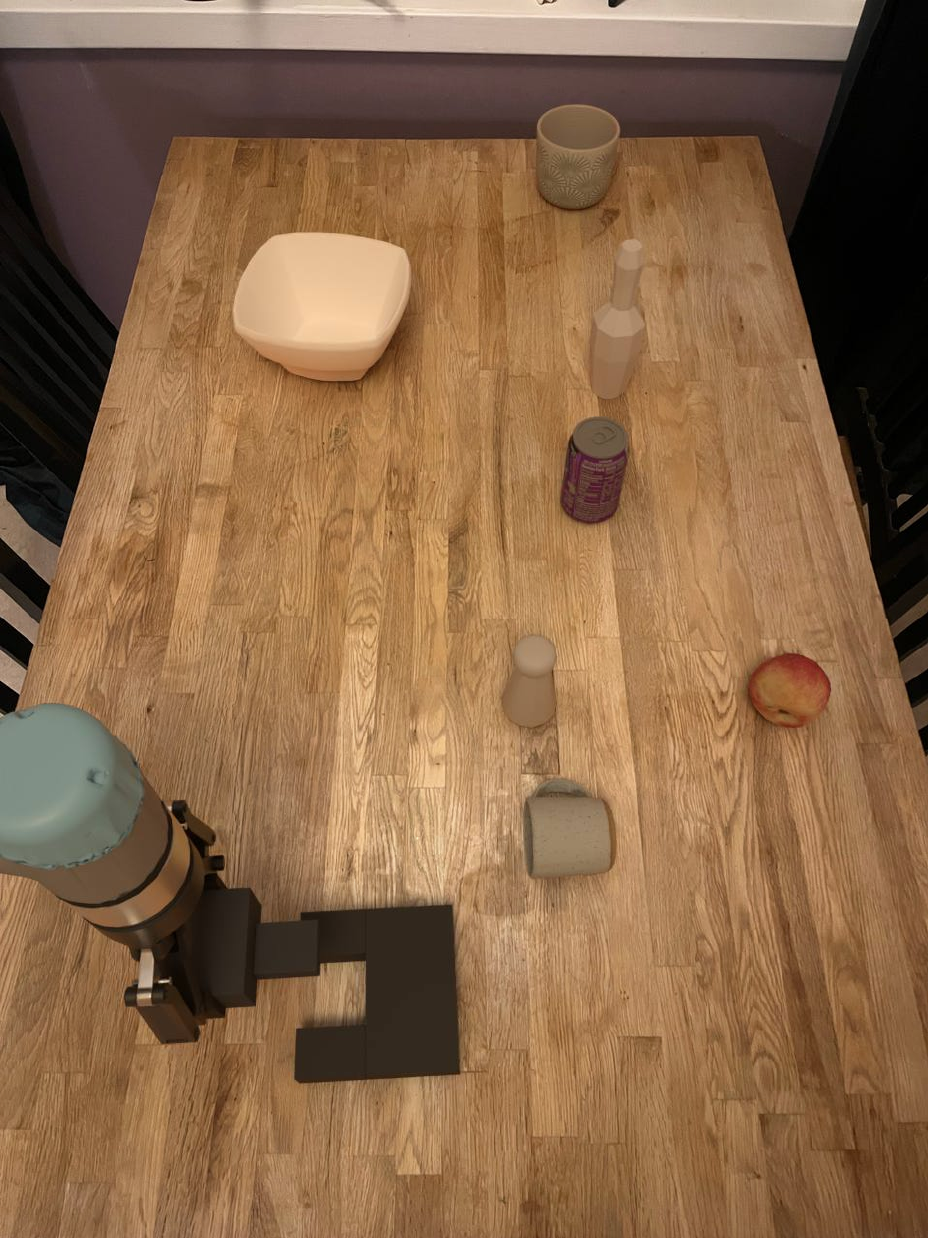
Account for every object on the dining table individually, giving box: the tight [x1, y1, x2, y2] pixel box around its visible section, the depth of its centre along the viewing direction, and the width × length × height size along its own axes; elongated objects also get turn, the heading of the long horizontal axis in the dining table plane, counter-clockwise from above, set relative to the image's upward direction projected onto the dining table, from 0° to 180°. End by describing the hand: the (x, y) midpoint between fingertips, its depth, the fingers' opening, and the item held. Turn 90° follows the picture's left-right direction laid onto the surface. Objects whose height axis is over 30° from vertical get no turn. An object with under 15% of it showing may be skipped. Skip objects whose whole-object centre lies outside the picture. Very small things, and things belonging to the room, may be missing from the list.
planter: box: [535, 103, 621, 210], centre depth 147 cm, size 12×12×11 cm
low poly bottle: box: [588, 238, 646, 400], centre depth 119 cm, size 6×6×22 cm
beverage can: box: [559, 416, 630, 524], centre depth 113 cm, size 7×7×12 cm
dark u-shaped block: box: [293, 903, 461, 1085], centre depth 86 cm, size 14×14×3 cm
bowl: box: [231, 232, 413, 382], centre depth 127 cm, size 22×22×12 cm
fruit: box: [748, 652, 832, 729], centre depth 99 cm, size 8×8×8 cm
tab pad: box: [188, 886, 321, 1009], centre depth 76 cm, size 12×8×5 cm, turn 93°
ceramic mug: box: [522, 778, 617, 880], centre depth 92 cm, size 11×8×8 cm
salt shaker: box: [500, 633, 558, 729], centre depth 97 cm, size 6×6×13 cm
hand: (212, 956), depth 77 cm, fingers closed on tab pad, 8 cm apart
